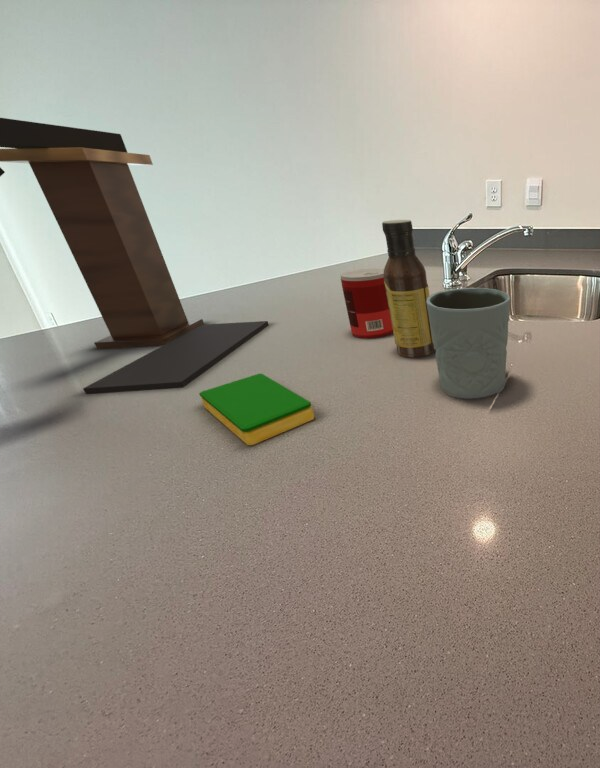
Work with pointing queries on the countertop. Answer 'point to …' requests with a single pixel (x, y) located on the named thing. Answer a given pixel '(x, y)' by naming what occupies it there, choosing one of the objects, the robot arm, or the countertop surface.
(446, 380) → the grey cup
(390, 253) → the sauce bottle
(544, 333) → the countertop surface
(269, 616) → the countertop surface
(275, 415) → the dish sponge
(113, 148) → the long black bar
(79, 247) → the stand
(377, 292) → the canned food
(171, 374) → the black base pad
